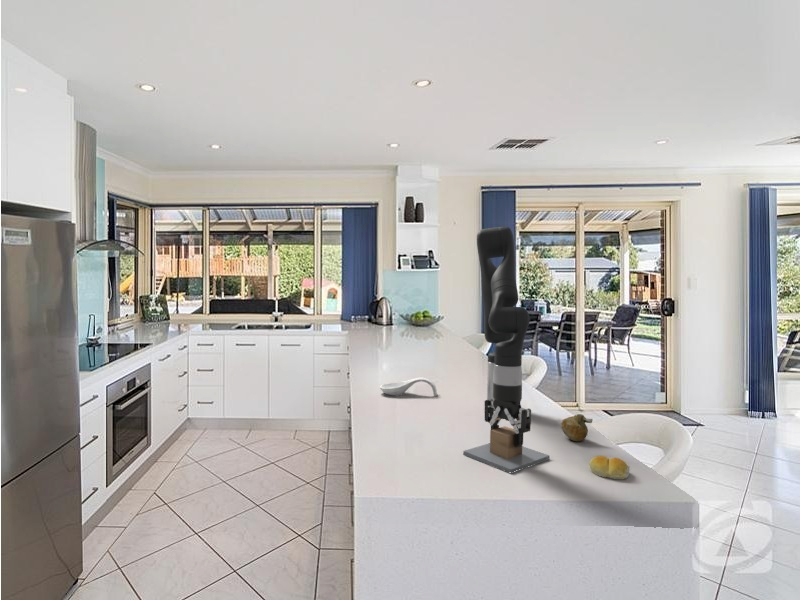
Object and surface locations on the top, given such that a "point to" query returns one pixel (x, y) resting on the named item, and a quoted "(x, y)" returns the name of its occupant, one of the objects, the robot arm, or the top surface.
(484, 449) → the slate plate
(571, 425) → the onion
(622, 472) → the bread roll
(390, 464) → the top surface
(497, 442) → the walnut block
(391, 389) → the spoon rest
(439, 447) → the top surface
